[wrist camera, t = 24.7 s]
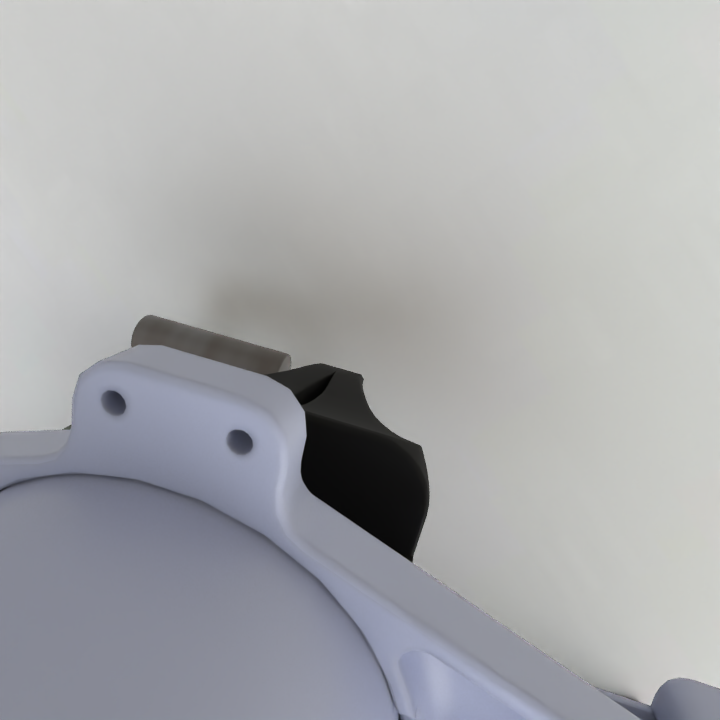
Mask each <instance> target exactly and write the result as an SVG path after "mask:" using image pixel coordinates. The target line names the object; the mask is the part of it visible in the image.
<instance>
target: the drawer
mask: <svg viewBox="0 0 720 720" xmlns="http://www.w3.org/2000/svg"><path fill="white" fill-rule="evenodd" d="M137 345H163V346H166V347H170V348H173V349H177V350H180V351H183V352H187V353H190V354H194V355H197V356H200V357H204V358H207V359H211V360H214V361H218V362H221V363H224V364H228V365H231V366H235V367H238V368H241V369H245V370H248V371H252V372H255V373H259V374H262V375H265V374H271V373H277V372H282V371H288V370H290V368H291V357H290V355H289V354H286V353H283V352H279V351H276V350H272V349H269V348H265V347H262V346H258V345H255V344H251V343H248V342H244V341H241V340H237V339H234V338H230V337H227V336H223V335H220V334H216V333H213V332H210V331H206V330H203V329H199V328H196V327H192V326H189V325H185V324H182V323H178V322H175V321H171V320H168V319H164V318H161V317H157V316H154V315H148V316H145V317H143V318H142V319H141V320H140V321H139V322H138V324H137V325H136V327H135V329H134V332H133V335H132V341H131V346H132V347H134V346H137ZM71 425H72V424H71ZM71 425H69V426H68V427H66V428H64V429H62V430H70V429H71Z"/></svg>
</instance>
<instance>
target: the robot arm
mask: <svg viewBox="0 0 720 720" xmlns="http://www.w3.org/2000/svg"><path fill="white" fill-rule="evenodd" d="M363 380H364V379H363V377H362V375H361V374H357V373H354V372H350V371H347V370H343V369H340V368H336V367H333V366H329V365H326V364H321V363H320V364H313V365H309V366H305V367H301V368H296V369H292V370H288V371H282V372H277V373H271V374H265V375H262V374H259V373H255V372H252V371H248V370H245V369H241V368H238V367H235V366H231V365H228V364H224V363H221V362H218V361H214V360H211V359H207V358H204V357H200V356H197V355H194V354H190V353H187V352H183V351H180V350H177V349H173V348H170V347H166V346H163V345H137V346H134V347H132V348H130V349H127V350H125V351H122V352H120V353H117V354H115V355H113V356H110V357H108V358H105V359H103V360H100V361H98V362H97V363H95V364H94V365H92V366H91V367H90V368H88V369H87V370H85V371H84V372H82V373H81V374H80V375H79V378H78V381H77V384H76V387H75V390H74V394H73V397H72V425H71V429H70V430H43V431H15V432H0V720H720V689H719V688H716V687H713V686H710V685H707V684H704V683H701V682H698V681H695V680H691V679H685V678H675V679H671V680H668V681H667V682H665V683H664V684H663V685H662V686H661V687H660V688H659V690H658V691H657V693H656V694H655V697H654V699H653V702H652V704H651V706H649V705H646V704H643V703H640V702H637V701H634V700H631V699H628V698H626V697H623V696H620V695H617V694H614V693H611V692H608V691H605V690H602V689H599V688H596V687H593V686H591V685H590V684H588V683H587V682H585V681H584V680H583V679H581V678H580V677H578V676H577V675H575V674H574V673H572V672H571V671H569V670H568V669H566V668H565V667H564V666H562V665H561V664H559V663H558V662H556V661H555V660H553V659H552V658H550V657H549V656H547V655H546V654H545V653H543V652H542V651H540V650H539V649H537V648H536V647H534V646H533V645H531V644H530V643H528V642H527V641H526V640H524V639H523V638H521V637H520V636H518V635H517V634H515V633H514V632H512V631H511V630H510V629H508V628H507V627H505V626H504V625H502V624H501V623H499V622H498V621H496V620H495V619H493V618H492V617H491V616H489V615H488V614H486V613H485V612H483V611H482V610H480V609H479V608H477V607H476V606H474V605H473V604H472V603H470V602H469V601H467V600H466V599H464V598H463V597H461V596H460V595H458V594H457V593H456V592H454V591H453V590H451V589H450V588H448V587H447V586H445V585H444V584H442V583H441V582H439V581H438V580H437V579H435V578H434V577H432V576H431V575H429V574H428V573H426V572H425V571H423V570H422V569H421V568H419V567H418V566H416V565H415V564H413V563H412V561H413V555H414V552H415V549H416V546H417V543H418V540H419V537H420V534H421V531H422V528H423V525H424V522H425V519H426V516H427V512H428V507H429V481H428V474H427V468H426V463H425V459H424V454H423V451H422V447H421V446H420V445H418V444H415V443H413V442H411V441H408V440H406V439H403V438H401V437H400V436H398V435H396V434H395V433H393V432H392V431H390V430H389V429H388V428H386V427H385V426H384V425H383V424H382V423H381V422H380V421H379V420H378V419H377V418H376V417H375V416H374V414H373V413H372V411H371V410H370V408H369V406H368V404H367V401H366V398H365V395H364V392H363V386H362V384H363Z"/></svg>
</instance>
